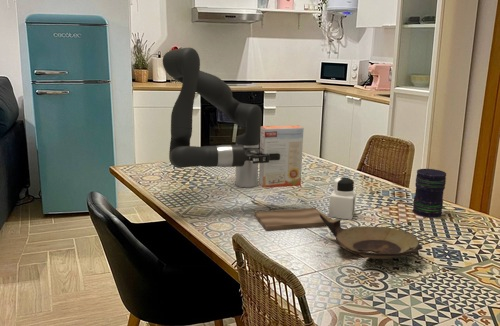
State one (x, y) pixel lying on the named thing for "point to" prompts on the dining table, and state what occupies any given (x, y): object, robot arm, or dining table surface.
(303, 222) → the walnut board
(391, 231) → the oil lamp
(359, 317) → the dining table surface
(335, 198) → the container
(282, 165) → the cracker box
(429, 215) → the storage jar
